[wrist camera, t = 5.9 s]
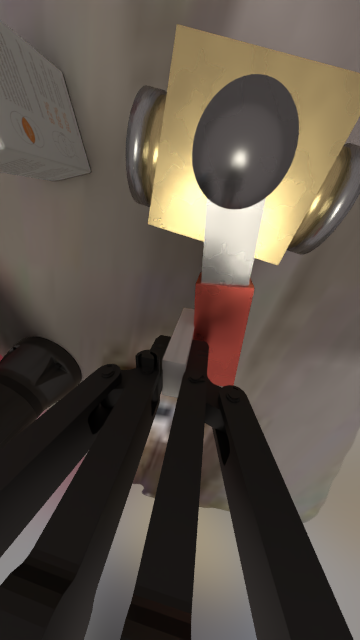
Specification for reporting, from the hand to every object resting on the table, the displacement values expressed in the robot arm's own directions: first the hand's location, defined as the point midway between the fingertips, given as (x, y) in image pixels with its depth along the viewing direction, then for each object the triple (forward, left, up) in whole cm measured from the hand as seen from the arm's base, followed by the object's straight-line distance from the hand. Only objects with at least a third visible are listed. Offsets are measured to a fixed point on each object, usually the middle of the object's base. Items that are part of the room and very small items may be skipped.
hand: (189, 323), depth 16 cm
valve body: (0, +11, -11) cm, 16 cm away
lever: (+1, +5, 0) cm, 5 cm away
